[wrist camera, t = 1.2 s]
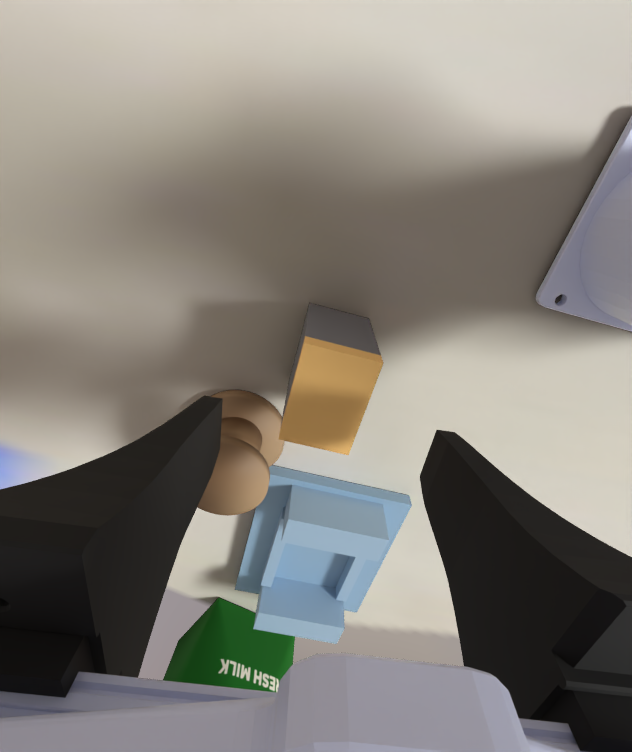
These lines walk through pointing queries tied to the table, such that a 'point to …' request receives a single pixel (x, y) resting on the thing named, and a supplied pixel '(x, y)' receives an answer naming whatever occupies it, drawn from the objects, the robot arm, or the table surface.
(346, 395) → the orange and grey block
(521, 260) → the table surface
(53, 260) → the table surface
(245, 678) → the soya milk
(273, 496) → the blue square socket
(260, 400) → the bobbin
